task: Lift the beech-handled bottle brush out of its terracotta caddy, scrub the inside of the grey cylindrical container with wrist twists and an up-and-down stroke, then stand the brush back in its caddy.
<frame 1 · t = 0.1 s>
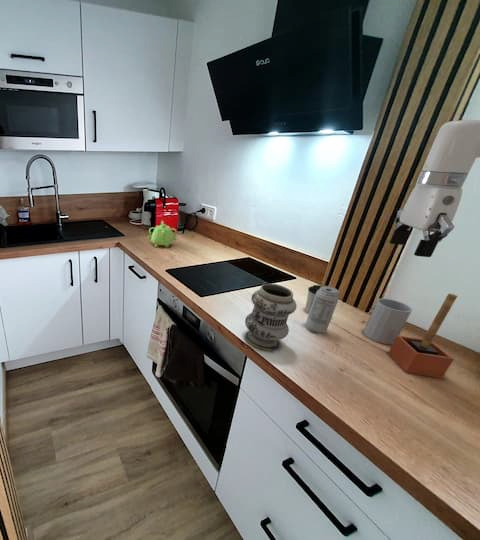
hand: (408, 249, 73), 32 cm above the worktop, tool pointing down, fingers open, 9 cm apart
apothecary jar: (261, 341, 89), on the worktop
teapot: (161, 244, 175), on the worktop
brush: (414, 363, 80), resting on holder
coffee cup: (312, 312, 106), on the worktop
energy drink can: (315, 329, 96), on the worktop
holder: (413, 364, 81), on the worktop
grey cylindrical container: (379, 336, 93), on the worktop
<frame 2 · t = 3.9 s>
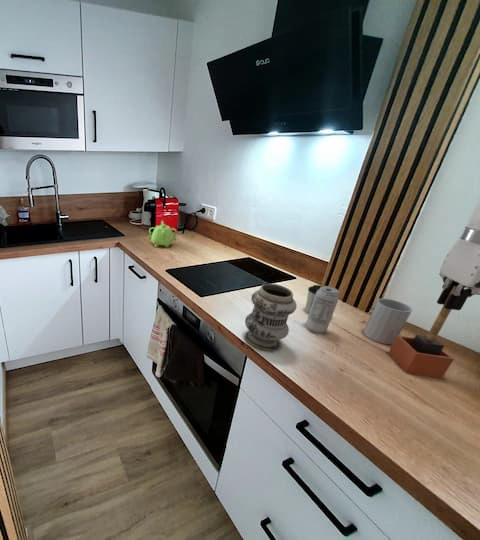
hand: (448, 306, 73), 19 cm above the worktop, tool pointing down, fingers closed on brush
brush: (420, 357, 79), point 3 cm above the worktop, touching gripper
everything else where it was.
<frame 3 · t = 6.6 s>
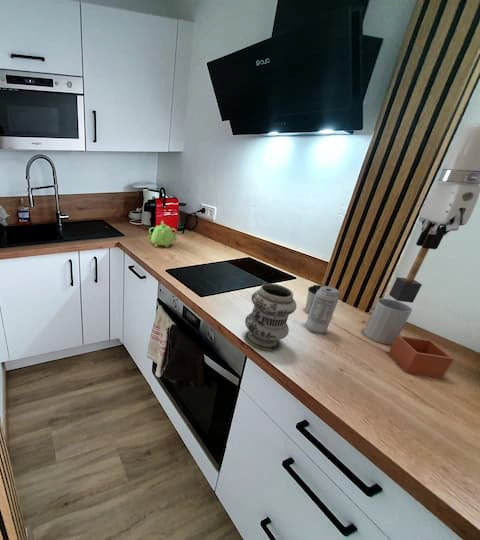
hand: (426, 246, 79), 31 cm above the worktop, tool pointing down, fingers closed on brush
brush: (400, 298, 86), point 15 cm above the worktop, touching gripper
everything else where it was.
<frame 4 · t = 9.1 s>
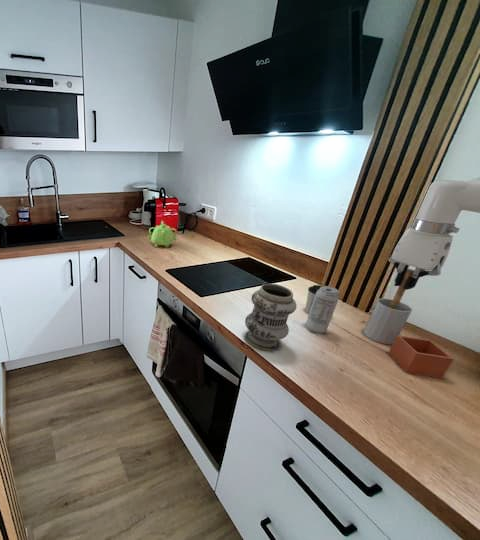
hand: (403, 286, 85), 18 cm above the worktop, tool pointing down, fingers closed on brush
brush: (381, 332, 92), point 2 cm above the worktop, touching gripper
everything else where it was.
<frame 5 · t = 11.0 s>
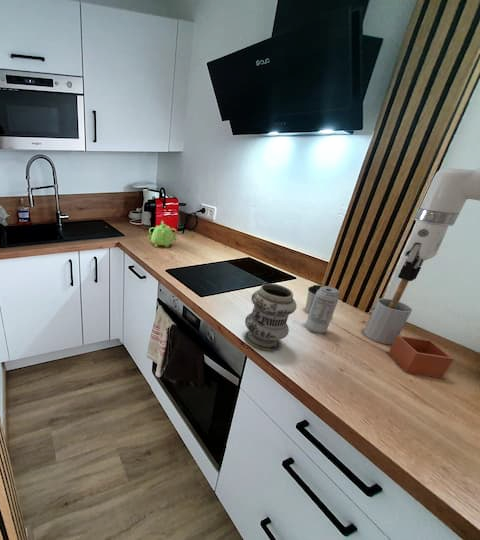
hand: (406, 278, 84), 21 cm above the worktop, tool pointing down, fingers closed on brush
brush: (383, 324, 91), point 5 cm above the worktop, touching gripper
everything else where it was.
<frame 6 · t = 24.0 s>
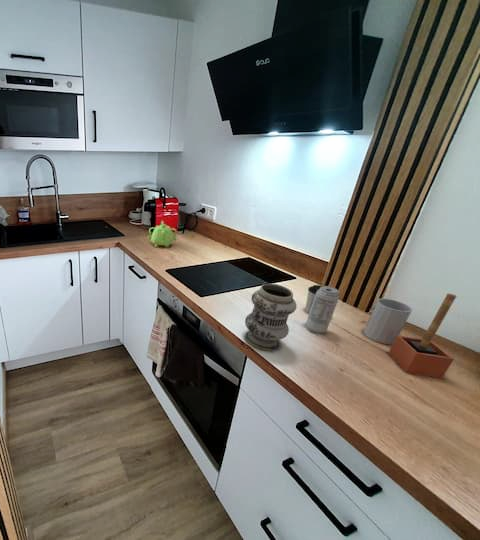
brush: (413, 363, 80), resting on holder
everything else where it was.
at the end: brush 0.2 cm off-centre in the holder, point 0.5 cm above the holder's base; brush tilted 0°; grey cylindrical container moved 0.0 cm from its start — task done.
